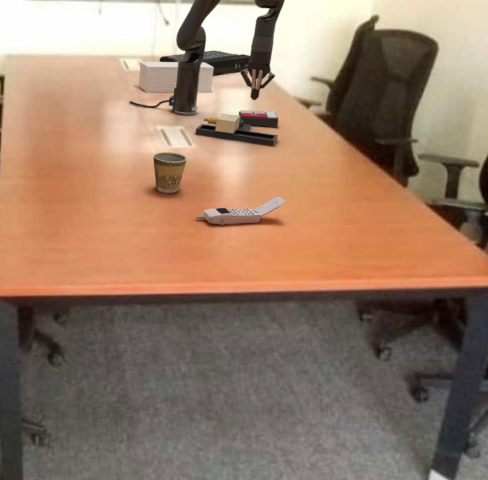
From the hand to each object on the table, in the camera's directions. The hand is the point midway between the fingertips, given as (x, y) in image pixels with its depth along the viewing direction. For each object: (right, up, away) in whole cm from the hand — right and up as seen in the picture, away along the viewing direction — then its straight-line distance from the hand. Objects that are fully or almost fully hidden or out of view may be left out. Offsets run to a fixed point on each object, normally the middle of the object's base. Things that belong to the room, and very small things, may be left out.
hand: (254, 99), depth 282 cm
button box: (-5, -4, +20) cm, 21 cm away
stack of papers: (-25, +34, +74) cm, 85 cm away
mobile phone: (-15, -60, -65) cm, 90 cm away
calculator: (+6, +2, +30) cm, 31 cm away
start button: (-5, -1, +19) cm, 19 cm away
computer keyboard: (-5, +63, +120) cm, 136 cm away
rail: (-5, -11, +9) cm, 15 cm away
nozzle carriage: (-12, -8, +10) cm, 18 cm away
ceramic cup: (-34, -46, -45) cm, 73 cm away
